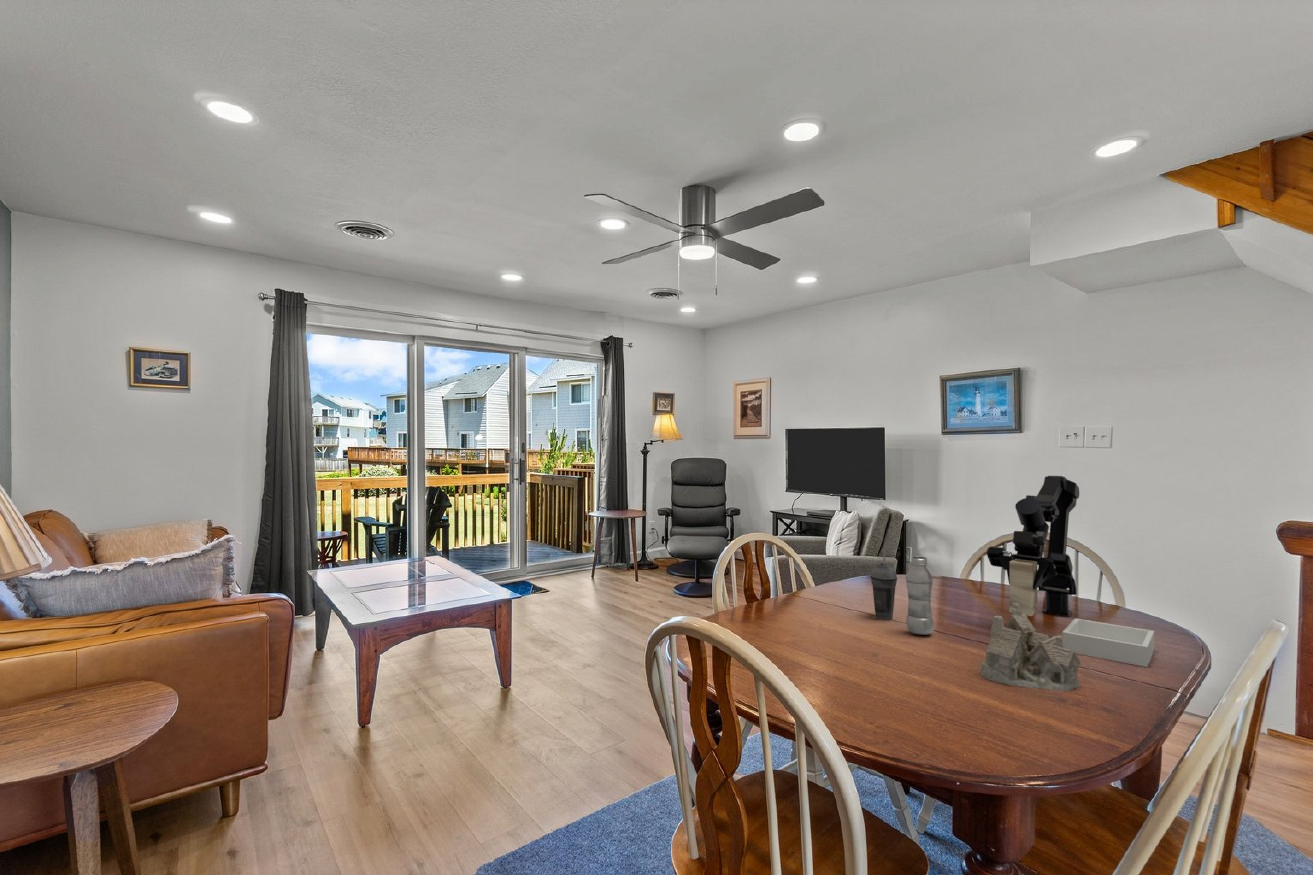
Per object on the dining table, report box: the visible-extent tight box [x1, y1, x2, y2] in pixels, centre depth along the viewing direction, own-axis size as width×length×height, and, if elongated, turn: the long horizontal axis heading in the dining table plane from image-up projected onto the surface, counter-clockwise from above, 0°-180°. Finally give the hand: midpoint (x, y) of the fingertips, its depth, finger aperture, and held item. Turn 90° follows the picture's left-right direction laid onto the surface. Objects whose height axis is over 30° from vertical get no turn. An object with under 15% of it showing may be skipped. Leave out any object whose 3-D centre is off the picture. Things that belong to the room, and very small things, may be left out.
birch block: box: [1009, 559, 1038, 617], centre depth 157 cm, size 5×5×13 cm
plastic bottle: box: [905, 556, 935, 636], centre depth 161 cm, size 6×7×20 cm
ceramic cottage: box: [979, 603, 1081, 692], centre depth 130 cm, size 16×16×15 cm
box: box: [1062, 618, 1155, 668], centre depth 148 cm, size 16×16×4 cm
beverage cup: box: [870, 548, 898, 621], centre depth 176 cm, size 7×7×20 cm
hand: (1021, 586), depth 156 cm, fingers closed on birch block, 5 cm apart
